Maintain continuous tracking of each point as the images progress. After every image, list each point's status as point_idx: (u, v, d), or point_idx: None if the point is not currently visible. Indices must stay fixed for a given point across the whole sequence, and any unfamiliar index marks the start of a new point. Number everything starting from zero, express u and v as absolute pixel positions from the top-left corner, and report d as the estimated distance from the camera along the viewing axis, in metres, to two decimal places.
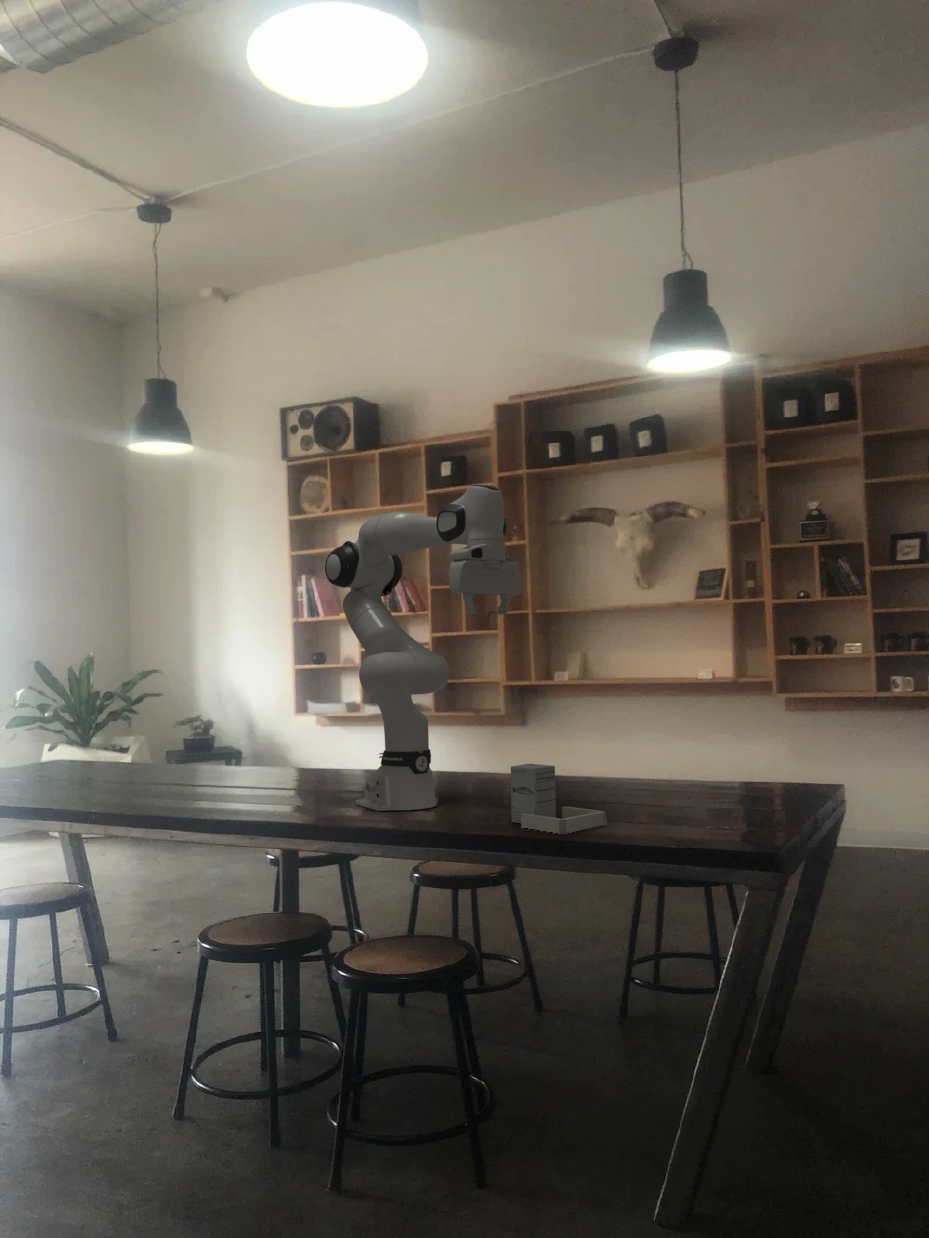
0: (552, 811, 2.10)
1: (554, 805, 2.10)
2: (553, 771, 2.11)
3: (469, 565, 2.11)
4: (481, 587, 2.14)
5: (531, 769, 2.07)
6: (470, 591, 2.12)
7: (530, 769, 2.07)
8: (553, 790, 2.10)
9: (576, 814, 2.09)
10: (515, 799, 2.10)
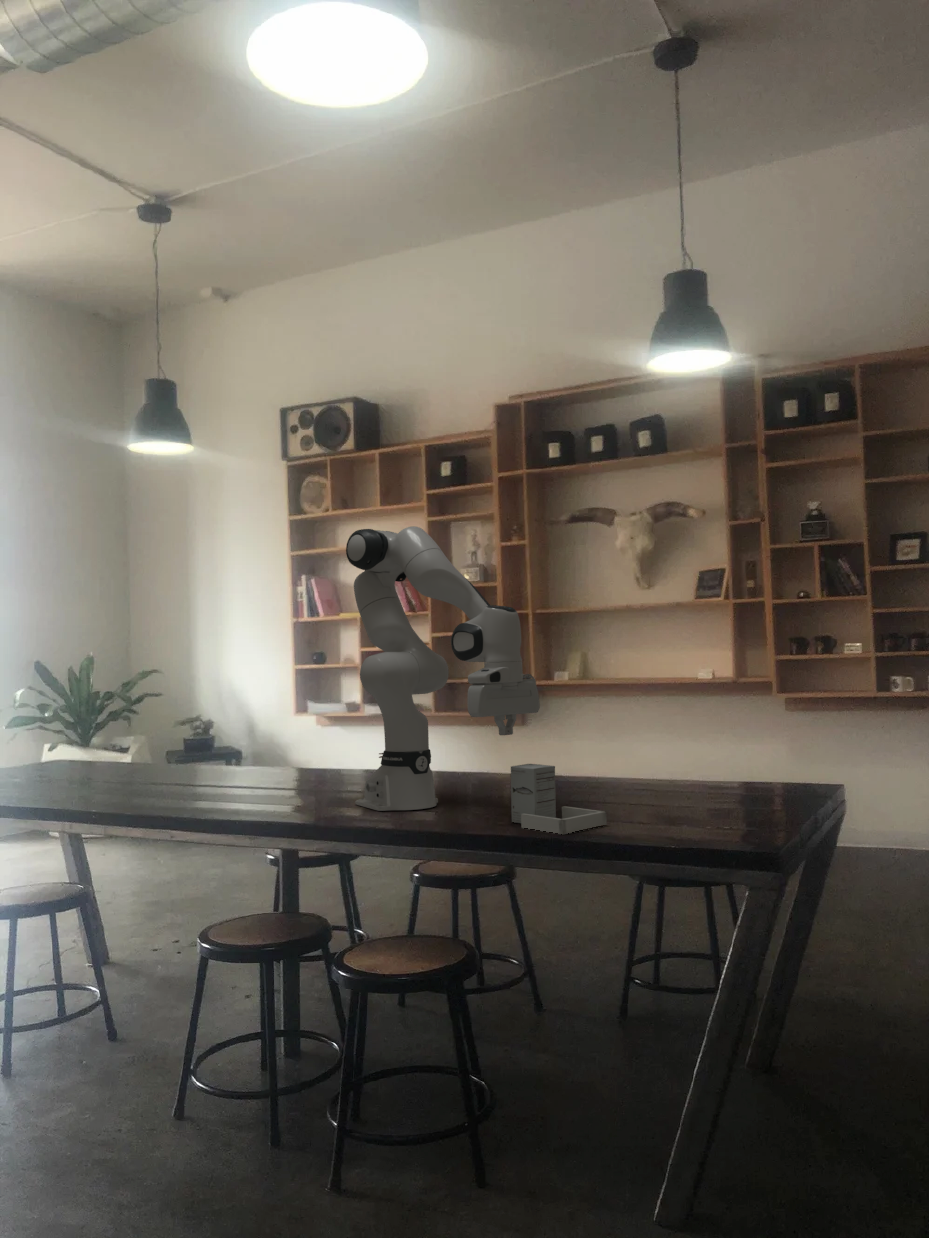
0: (552, 811, 2.10)
1: (554, 805, 2.10)
2: (553, 771, 2.11)
3: (487, 689, 2.12)
4: (499, 709, 2.14)
5: (531, 769, 2.07)
6: (489, 715, 2.12)
7: (530, 769, 2.07)
8: (553, 790, 2.10)
9: (576, 814, 2.09)
10: (515, 799, 2.10)
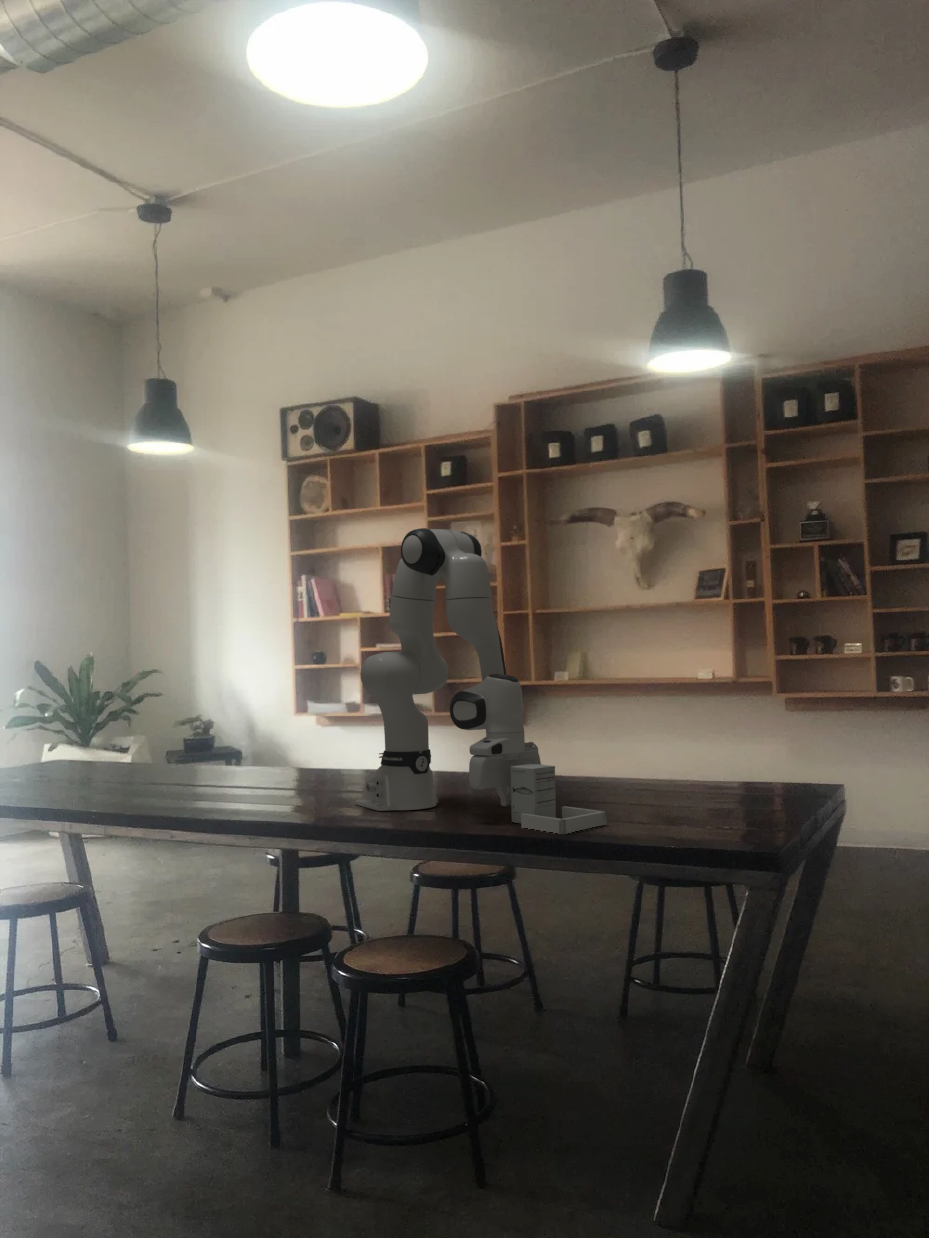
0: (552, 811, 2.10)
1: (554, 805, 2.10)
2: (553, 771, 2.11)
3: (489, 761, 2.11)
4: (501, 781, 2.13)
5: (531, 769, 2.07)
6: (490, 787, 2.11)
7: (530, 769, 2.07)
8: (553, 790, 2.10)
9: (576, 814, 2.09)
10: (515, 799, 2.10)
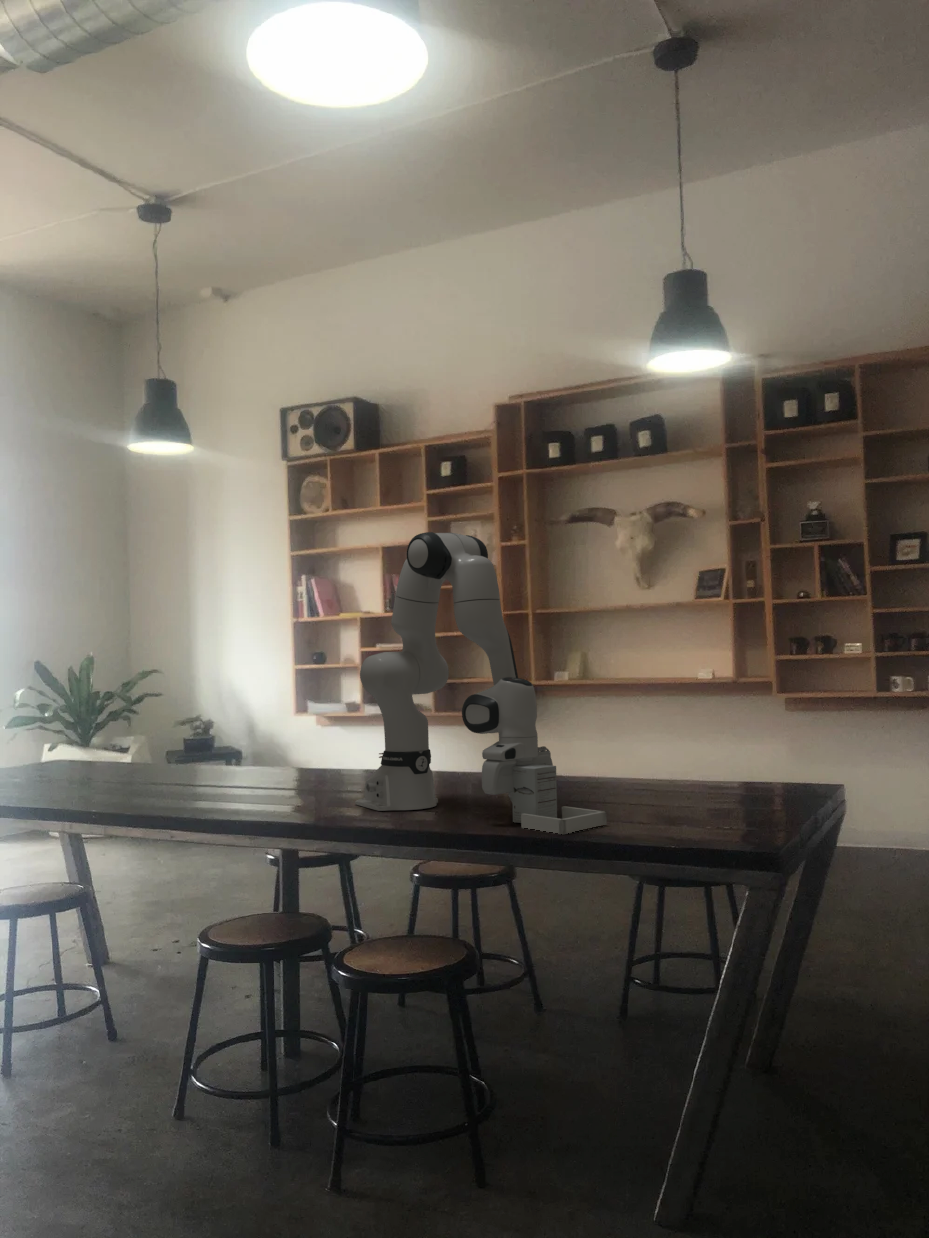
0: (553, 812, 2.09)
1: (555, 805, 2.10)
2: (554, 771, 2.10)
3: (502, 766, 2.08)
4: None
5: (532, 769, 2.06)
6: (503, 792, 2.09)
7: (531, 769, 2.07)
8: (554, 790, 2.10)
9: (576, 814, 2.09)
10: (516, 799, 2.09)
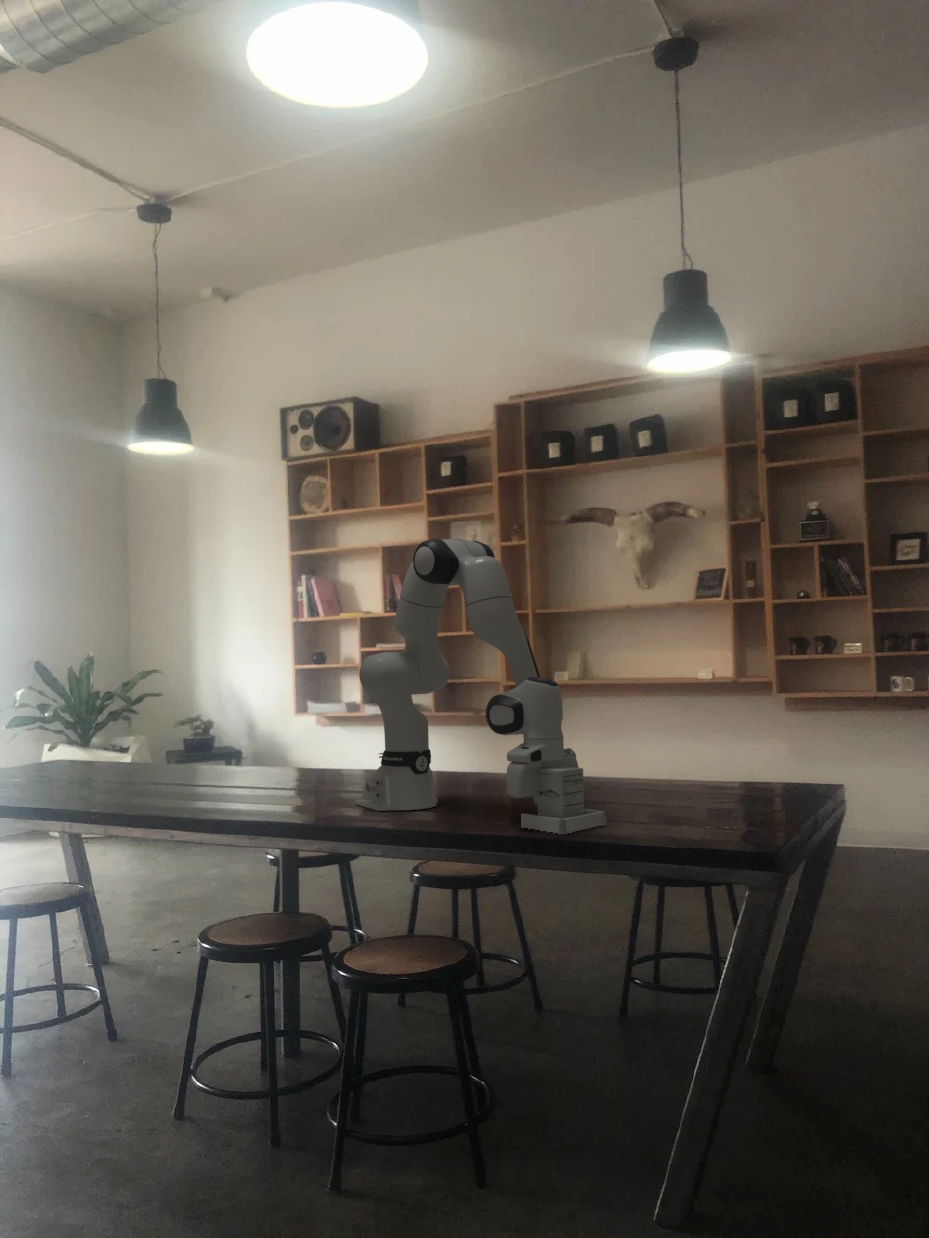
0: None
1: (582, 809, 2.04)
2: (581, 774, 2.04)
3: (527, 769, 2.02)
4: None
5: (558, 771, 2.01)
6: (529, 795, 2.03)
7: (557, 771, 2.01)
8: (581, 793, 2.04)
9: None
10: (542, 802, 2.04)
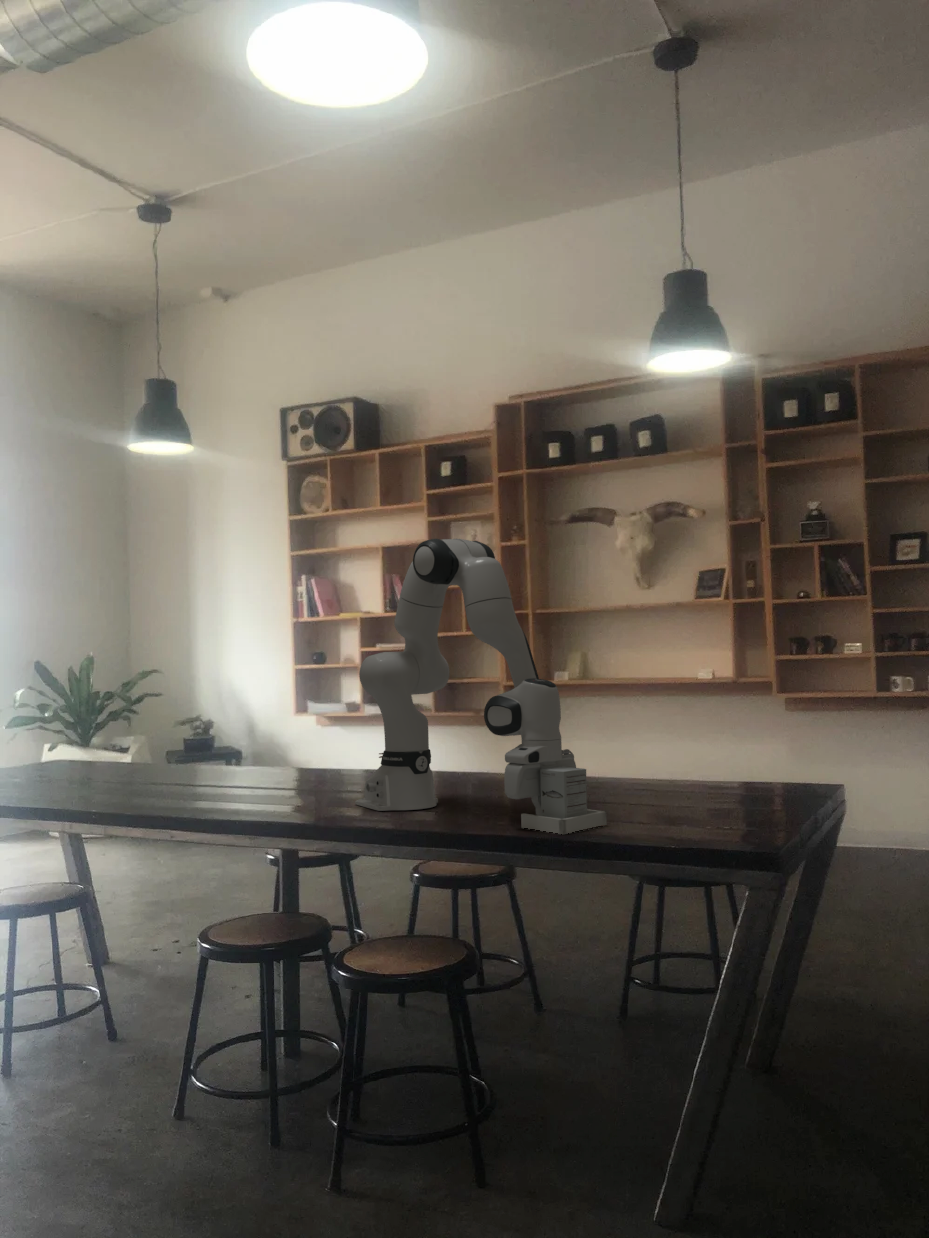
0: None
1: (585, 809, 2.03)
2: (584, 774, 2.04)
3: (525, 770, 2.02)
4: (537, 790, 2.05)
5: (561, 772, 2.00)
6: (526, 796, 2.03)
7: (560, 772, 2.00)
8: (584, 794, 2.03)
9: None
10: (545, 803, 2.03)
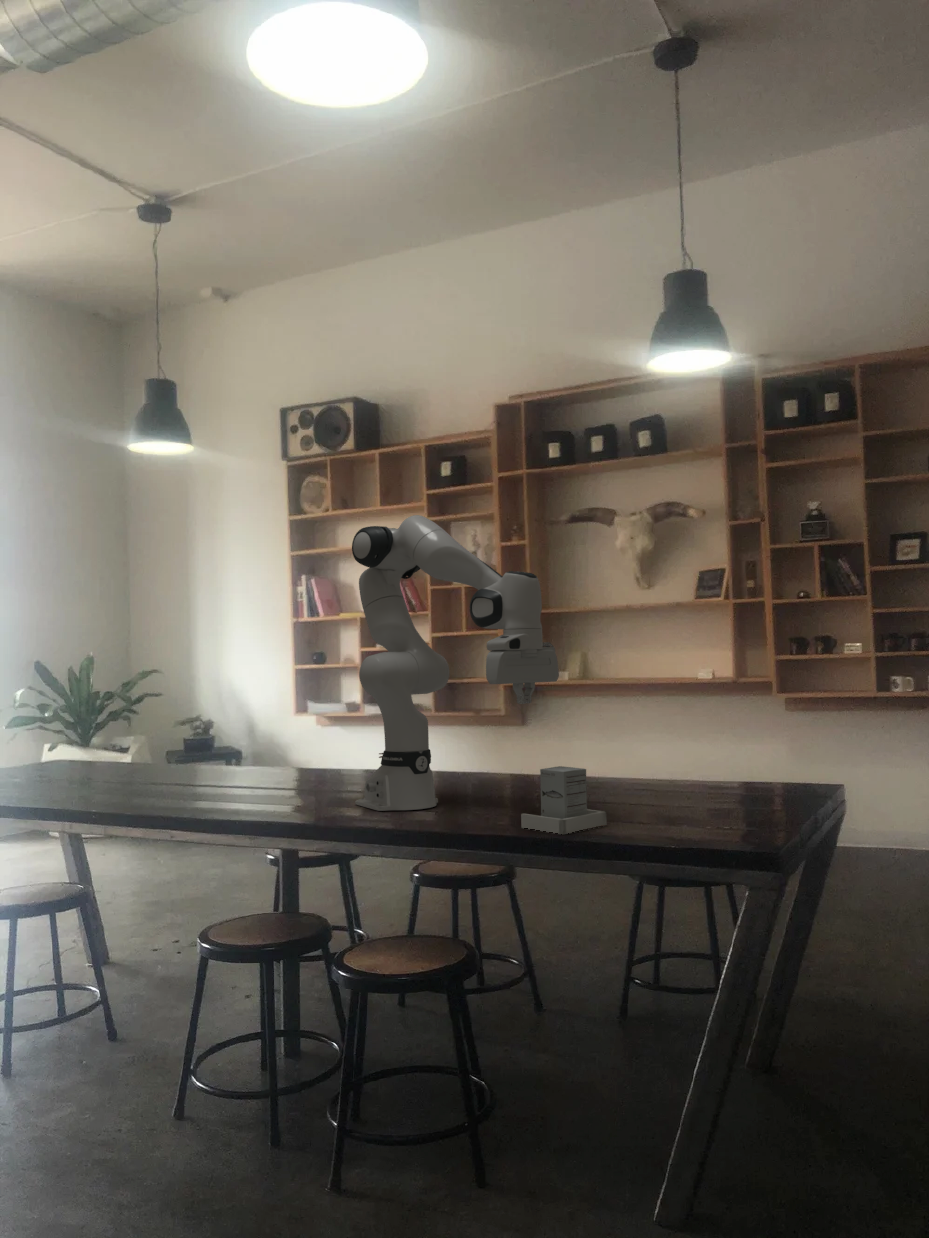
0: None
1: (585, 809, 2.03)
2: (584, 774, 2.04)
3: (506, 656, 2.07)
4: (518, 677, 2.10)
5: (561, 772, 2.00)
6: (507, 682, 2.08)
7: (560, 772, 2.00)
8: (584, 794, 2.03)
9: None
10: (545, 803, 2.03)
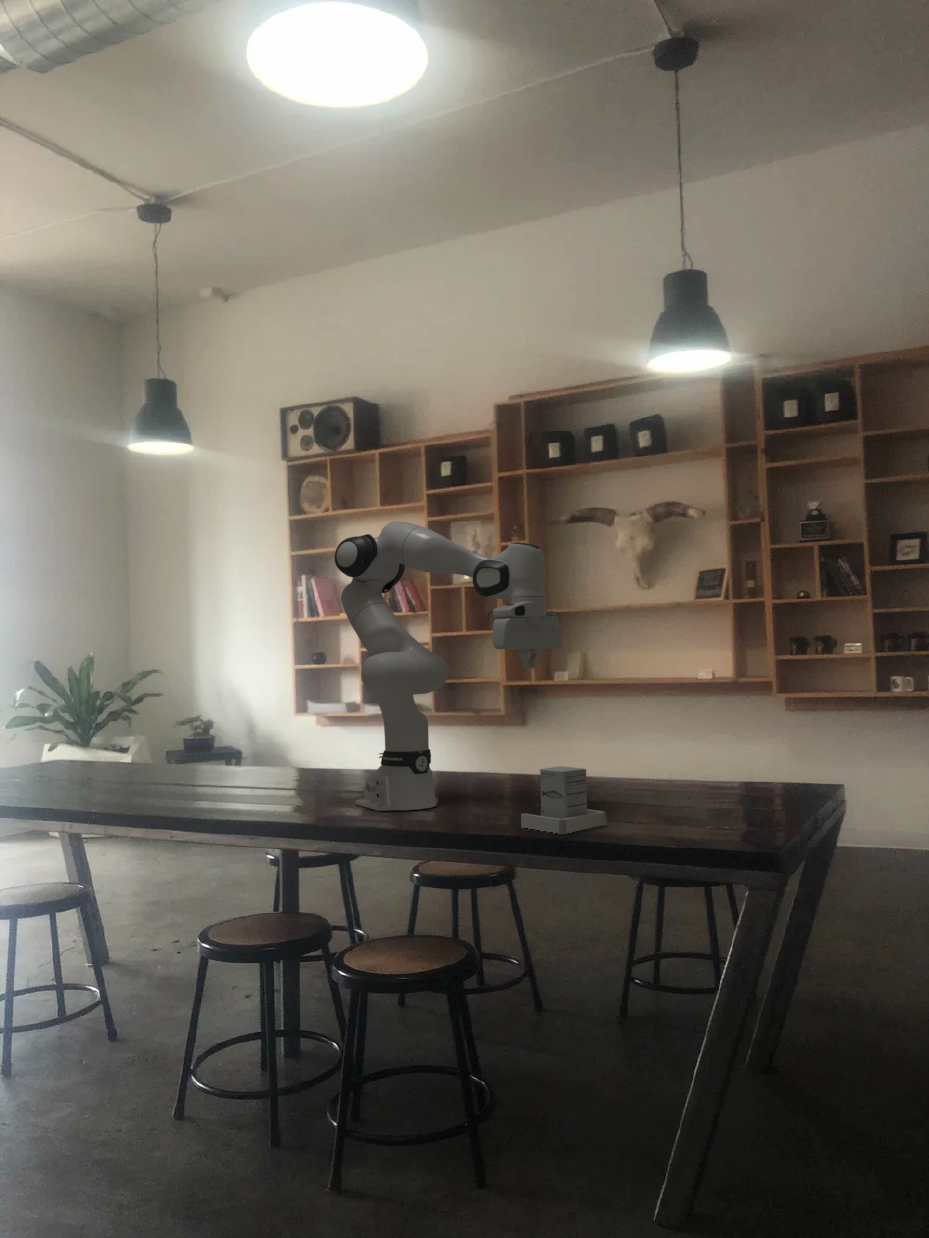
0: None
1: (585, 809, 2.03)
2: (584, 774, 2.04)
3: (512, 622, 2.17)
4: (523, 643, 2.20)
5: (561, 772, 2.00)
6: (513, 648, 2.18)
7: (560, 772, 2.00)
8: (584, 794, 2.03)
9: None
10: (545, 803, 2.03)
